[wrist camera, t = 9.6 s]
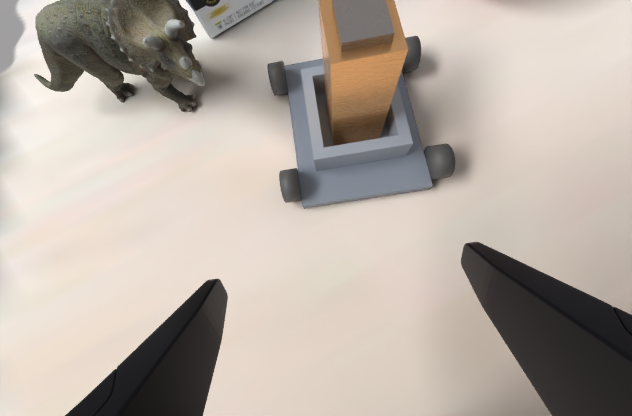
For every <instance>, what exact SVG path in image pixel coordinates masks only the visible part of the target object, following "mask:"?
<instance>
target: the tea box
mask: <svg viewBox="0 0 632 416" xmlns="http://www.w3.org/2000/svg"><path fill="white" fill-rule="evenodd" d="M184 1H185V3H186V4H187V5H188V7H189V8H190V10H191V11H192V13H193V14H194V15H195V17H196V18H197V20H198V21H199V22H200V24H201V25H202V27H203V28H204V30H205V31H206V33H207V34H208V36H209V37H210V38H213V37H215V36H217V35H218V34H220V33H221V32H223V31H225V30H226V29H228V28H230V27H231V26H233V25H235V24H236V23H238V22H239V21H241V20H243V19H244V18H246V17H248V16H249V15H251V14H253V13H254V12H256V11H258V10H259V9H261V8H262V7H264V6H266V5H267V4H269V3H271V2H272V1H274V0H184Z"/></svg>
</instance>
